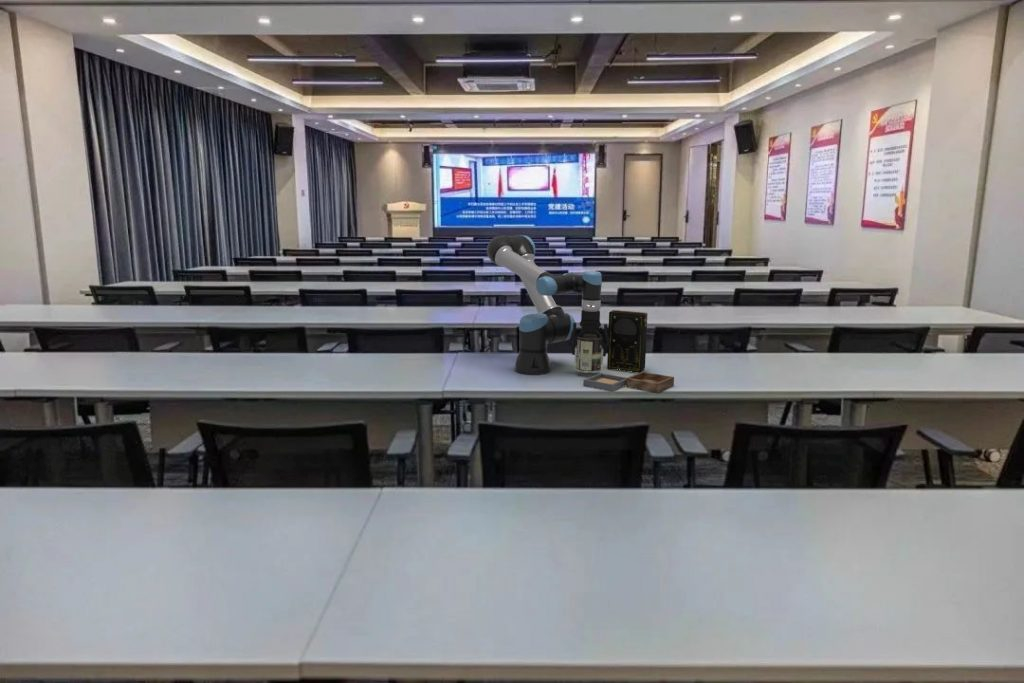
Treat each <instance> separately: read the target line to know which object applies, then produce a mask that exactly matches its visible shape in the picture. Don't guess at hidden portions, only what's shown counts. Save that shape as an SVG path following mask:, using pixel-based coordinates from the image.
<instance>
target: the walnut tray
mask: <svg viewBox="0 0 1024 683" xmlns="http://www.w3.org/2000/svg"><path fill="white" fill-rule="evenodd" d="M625 378H626V386H627V387H626V386H625V387H626V388H628V387H632V388H631V389H633V388H637V389H636V390H639V389H641V390H640V391H644V390H645V392H649V393H656V394H660V393H662V392H664V391H666V390H668V389H670V388H671V387H673V386H674V385H675V377H674V376H672V375H671V376H670V375H664V374H661V373H653V372H648V371H642V372H640V373H636V374H633V375H631V376H628V377H625Z"/></svg>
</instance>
